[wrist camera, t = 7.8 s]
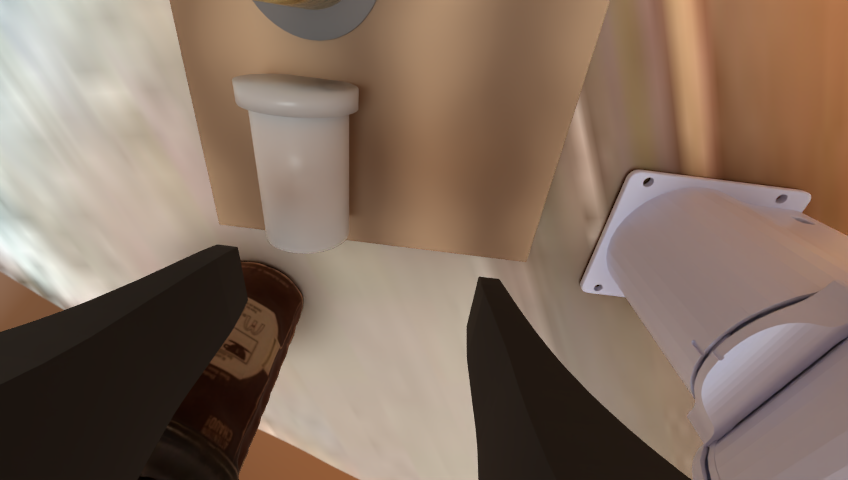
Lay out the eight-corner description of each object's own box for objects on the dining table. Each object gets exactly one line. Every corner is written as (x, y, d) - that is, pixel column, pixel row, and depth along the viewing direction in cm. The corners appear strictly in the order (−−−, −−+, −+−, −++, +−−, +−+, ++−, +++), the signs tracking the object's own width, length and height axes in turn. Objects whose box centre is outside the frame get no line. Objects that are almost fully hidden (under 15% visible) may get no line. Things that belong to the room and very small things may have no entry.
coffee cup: (185, 231, 22) (-89, 440, 11) (317, 251, 22) (185, 476, 11) (209, 330, 26) (35, 550, 15) (319, 345, 26) (227, 573, 15)
